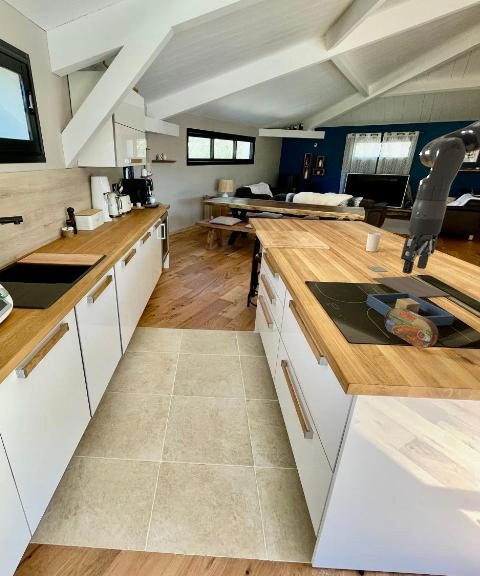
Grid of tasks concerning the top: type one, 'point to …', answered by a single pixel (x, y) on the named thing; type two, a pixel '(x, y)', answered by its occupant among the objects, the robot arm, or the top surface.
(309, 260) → the top surface
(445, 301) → the top surface
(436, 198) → the robot arm
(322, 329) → the top surface
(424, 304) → the blue rectangular frame
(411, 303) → the block
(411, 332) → the tin
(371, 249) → the drinking glass
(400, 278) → the board
